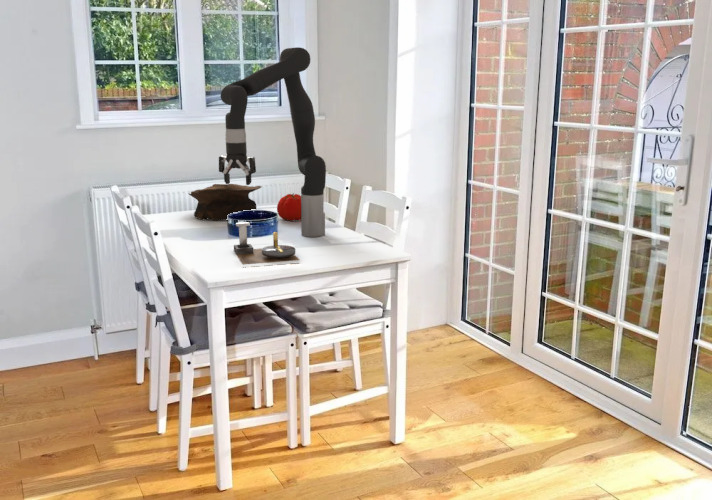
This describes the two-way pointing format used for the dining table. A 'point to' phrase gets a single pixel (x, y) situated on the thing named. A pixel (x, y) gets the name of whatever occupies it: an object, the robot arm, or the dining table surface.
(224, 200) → the brown irregular lump
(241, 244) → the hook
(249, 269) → the dining table surface
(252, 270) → the dining table surface
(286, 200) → the tomato
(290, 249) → the handwheel
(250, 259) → the board
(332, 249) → the dining table surface
